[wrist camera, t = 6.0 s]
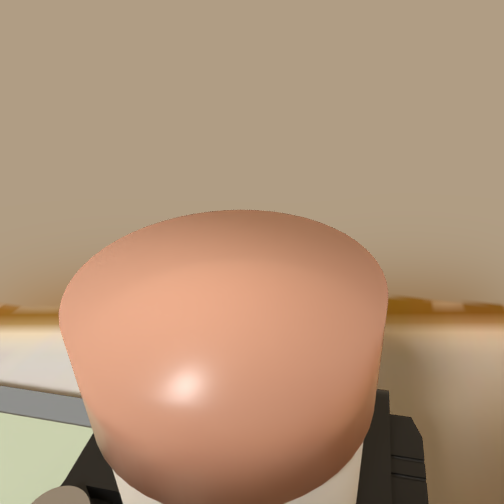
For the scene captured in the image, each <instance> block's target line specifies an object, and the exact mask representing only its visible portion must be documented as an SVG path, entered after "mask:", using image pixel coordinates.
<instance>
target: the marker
mask: <svg viewBox="0 0 504 504" xmlns="http://www.w3.org/2000/svg"><path fill="white" fill-rule="evenodd" d="M387 305H388V288H387V282H386V279H385V277H384V274H383V271H382V269H381V268H380V266H379V264H378V263H377V261H376V260H375V258H374V257H373V256H372V255H371V254H370V253H369V252H368V251H367V250H366V249H365V248H364V247H363V246H362V245H360V244H359V243H358V242H357V241H355V240H354V239H352V238H351V237H349V236H348V235H346V234H344V233H342V232H340V231H338V230H336V229H335V228H333V227H330V226H327V225H325V224H322V223H320V222H317V221H314V220H310V219H307V218H304V217H300V216H295V215H290V214H285V213H278V212H271V211H259V210H223V211H212V212H204V213H197V214H191V215H186V216H181V217H177V218H173V219H169V220H165V221H162V222H159V223H156V224H153V225H150V226H147V227H144V228H142V229H139V230H137V231H135V232H132V233H130V234H128V235H126V236H124V237H122V238H120V239H118V240H117V241H115V242H113V243H112V244H110V245H108V246H107V247H105V248H104V249H102V250H101V251H100V252H98V253H97V254H95V255H94V256H93V257H92V258H91V259H90V260H88V261H87V262H86V263H85V264H84V265H83V266H82V267H81V268H80V269H79V271H78V272H77V273H76V274H75V275H74V277H73V278H72V280H71V282H70V283H69V285H68V286H67V288H66V290H65V292H64V295H63V297H62V300H61V304H60V310H59V327H60V330H61V333H62V337H63V340H64V343H65V346H66V349H67V352H68V356H69V359H70V362H71V365H72V368H73V371H74V374H75V377H76V380H77V383H78V387H79V390H80V393H81V396H82V399H83V402H84V405H85V408H86V411H87V414H88V418H89V421H90V424H91V427H92V430H93V433H94V436H95V439H96V442H97V445H98V447H99V449H100V451H101V453H102V455H103V457H104V459H105V460H106V461H107V463H108V464H109V465H110V467H111V468H112V470H113V473H114V476H115V479H116V482H117V486H118V489H119V492H120V495H121V499H122V502H123V504H356V499H357V491H358V483H359V474H360V466H361V457H362V449H363V441H364V438H365V436H366V434H367V432H368V430H369V428H370V424H371V421H372V417H373V413H374V406H375V399H376V391H377V383H378V375H379V368H380V360H381V352H382V344H383V337H384V329H385V321H386V313H387Z"/></svg>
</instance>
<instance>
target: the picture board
mask: <svg viewBox="0 0 504 504" xmlns="http://www.w3.org/2000/svg"><path fill="white" fill-rule="evenodd" d="M92 434H93V430H92V427H91V424H90V421H89V418H88V414H87V411H86V408H85V405H84V402H83V399H82V398H76V397H70V396H63V395H57V394H50V393H44V392H37V391H31V390H25V389H18V388H12V387H5V386H0V504H31V503H32V502H33V501H34V500H35V499H37V498H38V497H39V496H40V495H42V494H43V493H45V492H47V491H49V490H51V489H53V488H56V487H60V485H61V484H62V483H63V482H64V480H65V479H66V477H67V475H68V474H69V472H70V470H71V469H72V467H73V465H74V464H75V462H76V460H77V459H78V457H79V456H80V454H81V452H82V451H83V449H84V447H85V446H86V444H87V442H88V441H89V439H90V437H91V436H92Z"/></svg>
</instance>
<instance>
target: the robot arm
mask: <svg viewBox="0 0 504 504" xmlns="http://www.w3.org/2000/svg"><path fill="white" fill-rule="evenodd" d="M31 504H123V502H122V499H121V495H120V492H119V489H118V486H117V482H116V479H115V476H114V473H113V470H112V468H111V467H110V465H109V464H108V463H107V461H106V460H105V459H104V457H103V455H102V453H101V451H100V449H99V447H98V445H97V442H96V439H95V436H94V433H93V434H92V436H91V437H90V439H89V441H88V442H87V444H86V446H85V447H84V449H83V451H82V452H81V454H80V456H79V457H78V459H77V460H76V462H75V464H74V465H73V467H72V469H71V470H70V472H69V474H68V475H67V477H66V479H65V480H64V482H63V483H62V484H61V485H60V487H56V488H53V489H51V490H49V491H47V492H45V493H43V494H42V495H40V496H39V497H38V498H37V499H35V500H34V501H33V502H32V503H31ZM356 504H428V494H427V484H426V473H425V464H424V451H423V440H422V436H421V435H420V433H419V431H418V429H417V427H416V425H415V424H414V422H413V420H412V418H411V417H405V416H398V415H391V414H390V410H389V391H387V390H380V389H377V391H376V399H375V406H374V413H373V417H372V421H371V424H370V428H369V430H368V432H367V434H366V436H365V438H364V441H363V449H362V457H361V466H360V474H359V483H358V491H357V499H356Z"/></svg>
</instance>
